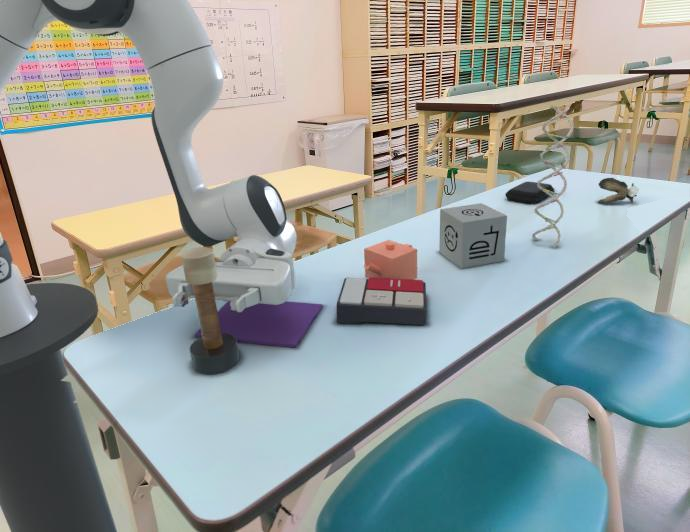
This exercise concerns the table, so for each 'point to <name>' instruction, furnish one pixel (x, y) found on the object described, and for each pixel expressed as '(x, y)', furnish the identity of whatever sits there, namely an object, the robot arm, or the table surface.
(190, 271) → the wooden rod on disc
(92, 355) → the table surface
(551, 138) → the dna model
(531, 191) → the carrying case
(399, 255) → the pink cube teapot
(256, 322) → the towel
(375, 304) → the dark paneled box
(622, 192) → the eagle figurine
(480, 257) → the icon cube
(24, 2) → the robot arm
